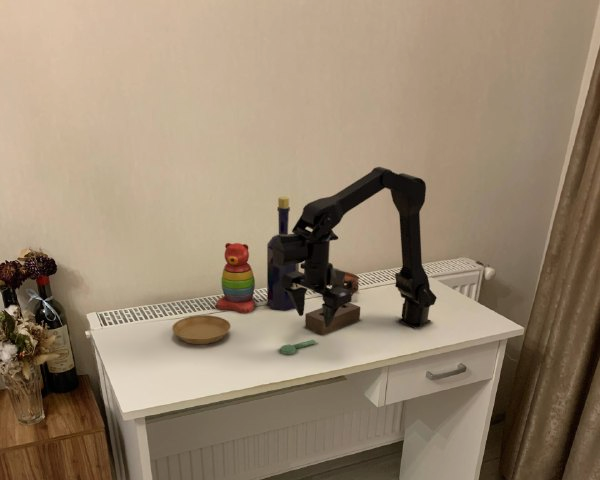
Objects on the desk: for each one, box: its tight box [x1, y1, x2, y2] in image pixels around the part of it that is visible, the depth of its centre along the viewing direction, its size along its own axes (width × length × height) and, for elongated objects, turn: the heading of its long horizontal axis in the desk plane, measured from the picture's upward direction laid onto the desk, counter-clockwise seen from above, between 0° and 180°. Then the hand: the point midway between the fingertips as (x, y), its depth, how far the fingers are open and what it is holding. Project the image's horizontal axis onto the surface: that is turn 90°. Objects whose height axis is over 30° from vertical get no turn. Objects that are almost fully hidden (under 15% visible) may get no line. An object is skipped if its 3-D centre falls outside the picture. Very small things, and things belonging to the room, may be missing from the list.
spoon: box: [280, 339, 316, 355], centre depth 152 cm, size 1×4×10 cm
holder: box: [304, 302, 361, 336], centre depth 165 cm, size 6×15×4 cm, turn 134°
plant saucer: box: [171, 314, 232, 345], centre depth 157 cm, size 15×15×3 cm
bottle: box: [266, 196, 300, 311], centre depth 169 cm, size 9×9×30 cm
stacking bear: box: [215, 242, 256, 314], centre depth 171 cm, size 11×10×18 cm
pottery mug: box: [330, 270, 360, 297], centre depth 182 cm, size 12×10×8 cm
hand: (314, 321), depth 151 cm, fingers open, 9 cm apart
